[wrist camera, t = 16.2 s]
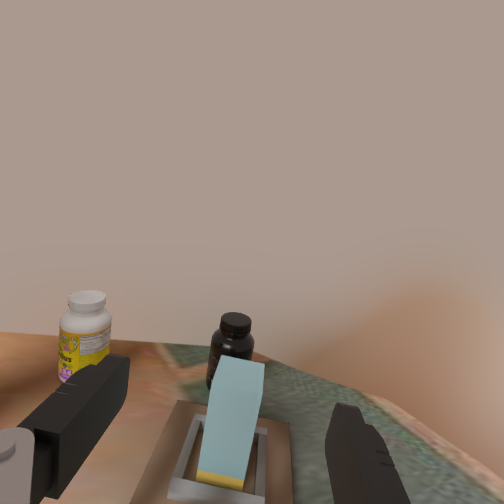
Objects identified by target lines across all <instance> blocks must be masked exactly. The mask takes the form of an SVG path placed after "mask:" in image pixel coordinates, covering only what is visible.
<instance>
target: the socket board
mask: <svg viewBox="0 0 504 504" xmlns="http://www.w3.org/2000/svg"><path fill="white" fill-rule="evenodd" d="M207 409H208V406H204V405H199V404H195V403H190V402H185V401H181V400H177V402H176V405H175V407H174V409H173V411H172V413H171V415H170V417H169V420H168V422H167V424H166V426H165V428H164V430H163V433H162V435H161V437H160V439H159V441H158V443H157V445H156V448H155V450H154V452H153V454H152V456H151V458H150V460H149V463H148V465H147V467H146V469H145V471H144V473H143V476H142V478H141V480H140V482H139V484H138V486H137V488H136V491H135V493H134V495H133V497H132V499H131V501H130V504H293V488H292V471H291V453H290V435H289V423H284V422H279V421H275V420H270V419H265V418H261V417H258V418H257V423H256V427H255V432H254V437H253V441H252V446H251V451H250V455H249V460H248V465H247V470H246V474H245V479H244V484H243V488H242V492H241V491H237V490H233V489H228V488H224V487H220V486H215V485H211V484H207V483H203V482H198V481H196V475H197V469H198V463H199V457H200V451H201V445H202V439H203V433H204V427H205V421H206V415H207Z"/></svg>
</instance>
